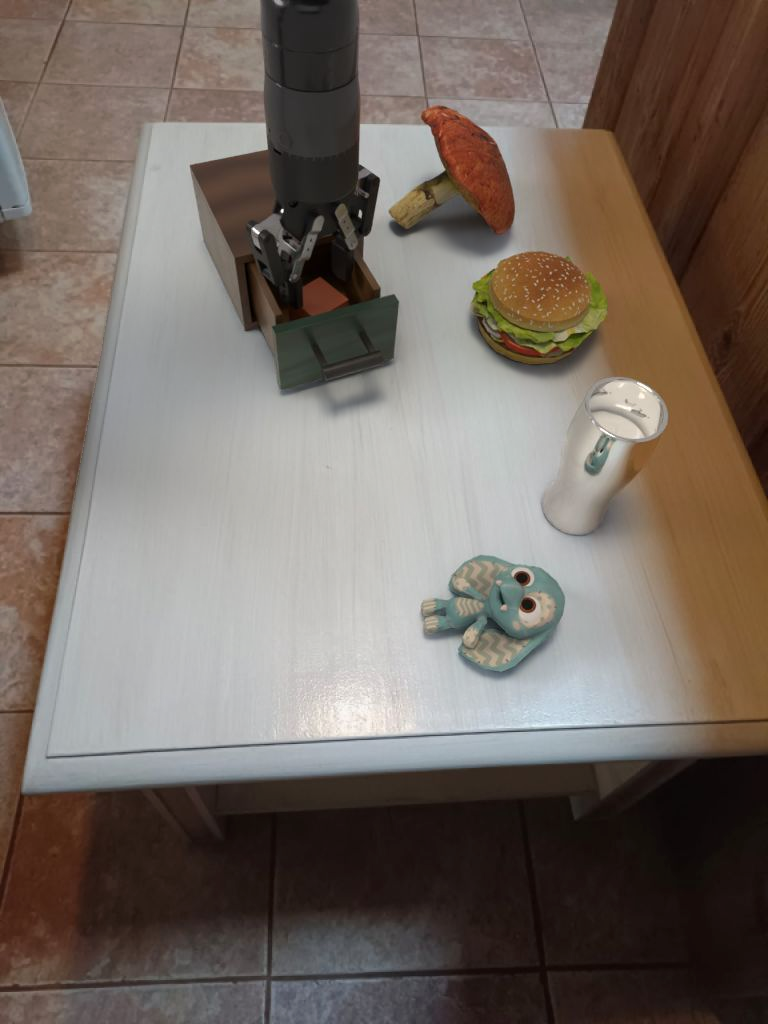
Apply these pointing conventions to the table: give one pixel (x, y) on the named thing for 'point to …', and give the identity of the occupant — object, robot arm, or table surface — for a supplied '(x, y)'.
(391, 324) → the drawer
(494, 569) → the stuffed animal
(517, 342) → the food
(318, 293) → the block
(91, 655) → the table surface
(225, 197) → the cabinet
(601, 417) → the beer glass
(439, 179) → the mushroom
